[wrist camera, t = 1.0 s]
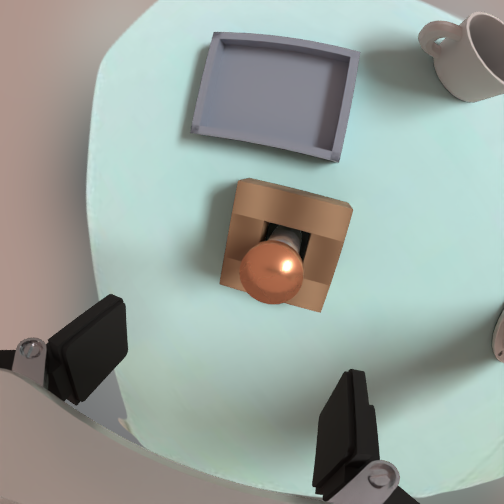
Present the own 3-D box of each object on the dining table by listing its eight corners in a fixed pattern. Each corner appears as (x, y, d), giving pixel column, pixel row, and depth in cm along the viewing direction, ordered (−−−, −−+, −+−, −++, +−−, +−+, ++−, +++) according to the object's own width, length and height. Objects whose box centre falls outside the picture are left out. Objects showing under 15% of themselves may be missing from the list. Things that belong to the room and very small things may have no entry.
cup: (483, 114, 19) (530, 104, 11) (404, 75, 21) (434, 45, 13) (486, 61, 17) (527, 40, 9) (409, 22, 18) (435, -17, 10)
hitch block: (348, 202, 26) (353, 209, 22) (320, 294, 30) (320, 312, 26) (249, 178, 28) (238, 180, 24) (231, 269, 31) (219, 284, 27)
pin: (313, 222, 28) (310, 254, 18) (302, 263, 29) (293, 311, 20) (270, 211, 28) (245, 236, 19) (261, 252, 30) (234, 294, 21)
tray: (357, 60, 21) (360, 52, 19) (337, 162, 25) (338, 162, 23) (221, 40, 24) (213, 32, 21) (200, 134, 27) (190, 132, 25)
